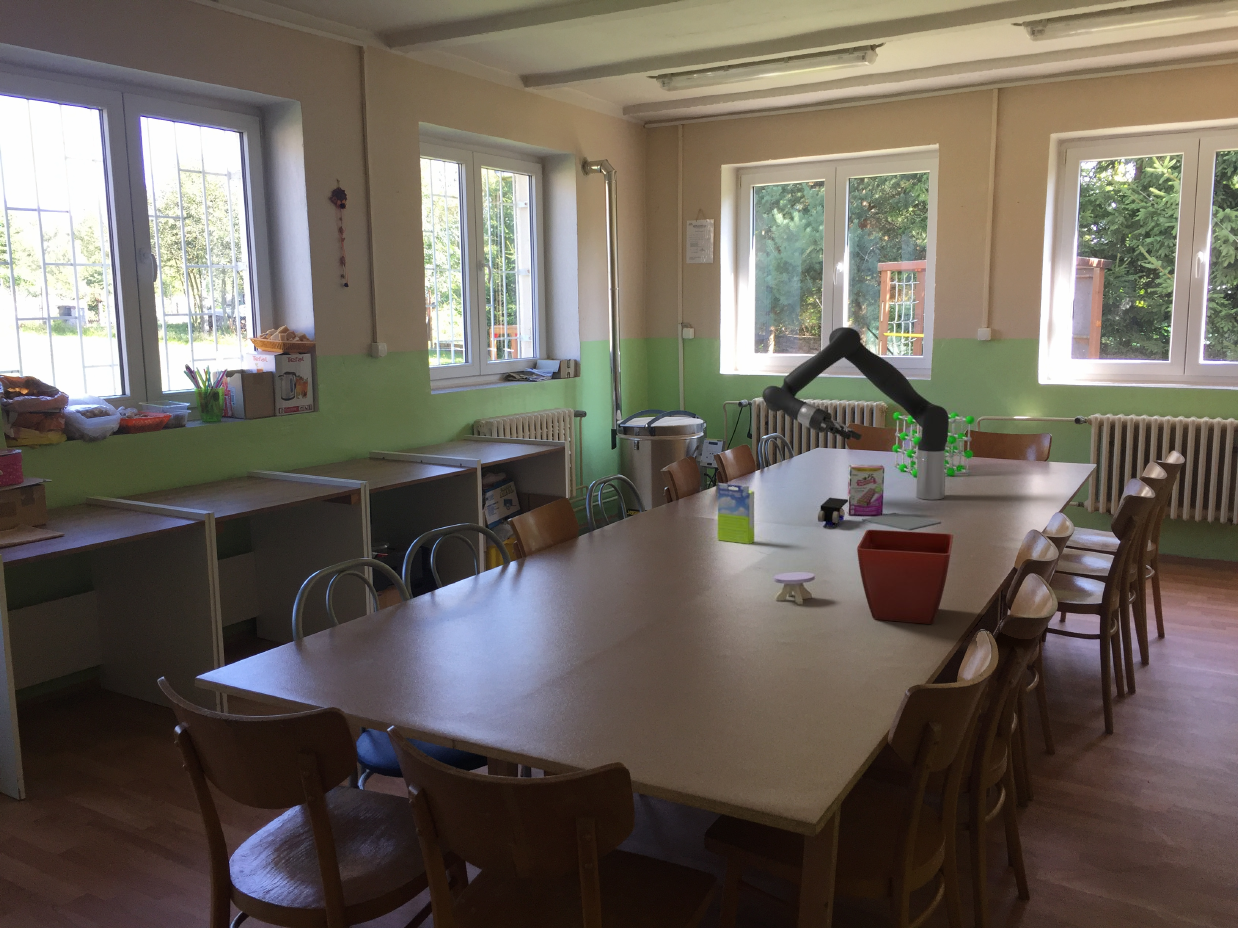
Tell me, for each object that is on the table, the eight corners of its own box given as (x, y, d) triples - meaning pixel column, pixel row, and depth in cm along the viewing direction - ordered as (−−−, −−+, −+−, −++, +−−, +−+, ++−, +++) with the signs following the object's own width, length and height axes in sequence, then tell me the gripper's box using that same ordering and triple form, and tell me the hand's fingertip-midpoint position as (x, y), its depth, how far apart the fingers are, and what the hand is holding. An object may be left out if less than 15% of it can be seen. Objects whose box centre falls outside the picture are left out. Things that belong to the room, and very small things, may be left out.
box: (755, 541, 286) (755, 483, 284) (749, 544, 283) (749, 486, 280) (722, 537, 292) (722, 481, 289) (716, 540, 288) (716, 483, 286)
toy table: (810, 593, 234) (810, 570, 233) (819, 604, 225) (819, 580, 224) (769, 594, 234) (770, 571, 233) (777, 605, 225) (777, 581, 224)
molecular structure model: (890, 468, 411) (892, 411, 408) (947, 466, 414) (949, 410, 410) (913, 478, 388) (915, 417, 384) (973, 476, 390) (976, 416, 386)
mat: (894, 513, 321) (894, 512, 321) (940, 522, 307) (940, 521, 307) (862, 520, 312) (862, 519, 312) (908, 530, 298) (908, 528, 298)
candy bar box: (848, 516, 319) (849, 466, 317) (846, 512, 324) (847, 464, 322) (883, 516, 318) (884, 466, 316) (880, 513, 323) (882, 464, 320)
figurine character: (838, 534, 300) (849, 519, 313) (838, 511, 298) (849, 496, 311) (816, 532, 303) (828, 517, 316) (816, 509, 301) (827, 495, 314)
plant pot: (854, 622, 212) (856, 547, 209) (865, 598, 229) (866, 528, 227) (947, 631, 205) (950, 553, 202) (950, 605, 223) (953, 533, 220)
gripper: (810, 406, 324) (852, 426, 315) (827, 408, 335) (868, 427, 327) (801, 427, 326) (842, 447, 317) (818, 428, 337) (859, 448, 329)
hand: (855, 437), depth 322 cm, fingers open, 8 cm apart
